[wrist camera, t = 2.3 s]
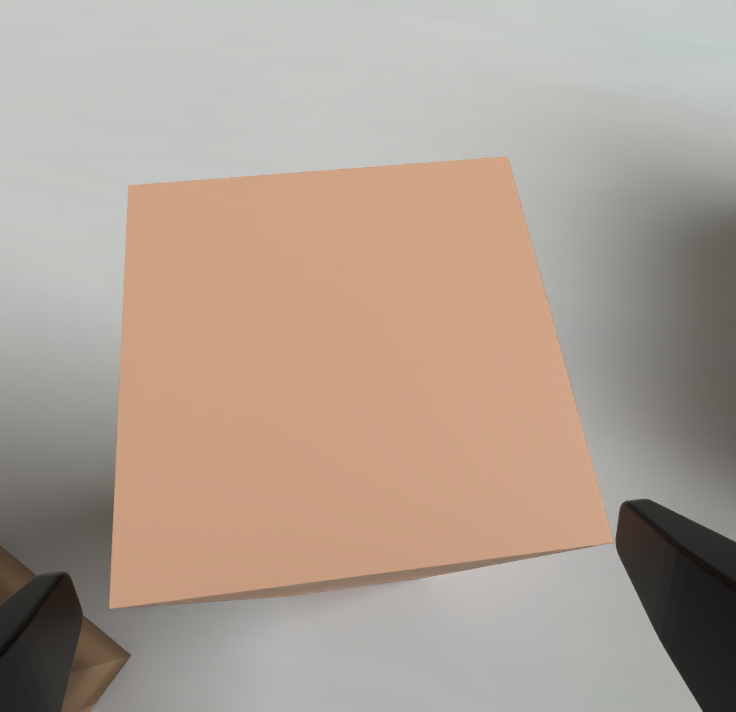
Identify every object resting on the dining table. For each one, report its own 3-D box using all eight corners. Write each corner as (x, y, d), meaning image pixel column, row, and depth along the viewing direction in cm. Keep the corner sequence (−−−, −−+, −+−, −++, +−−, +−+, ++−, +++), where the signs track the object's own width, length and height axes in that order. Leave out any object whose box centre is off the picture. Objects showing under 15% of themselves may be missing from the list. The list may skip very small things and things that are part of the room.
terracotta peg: (424, 578, 18) (613, 541, 5) (283, 596, 18) (109, 608, 5) (403, 440, 20) (507, 157, 7) (274, 455, 19) (127, 185, 7)
